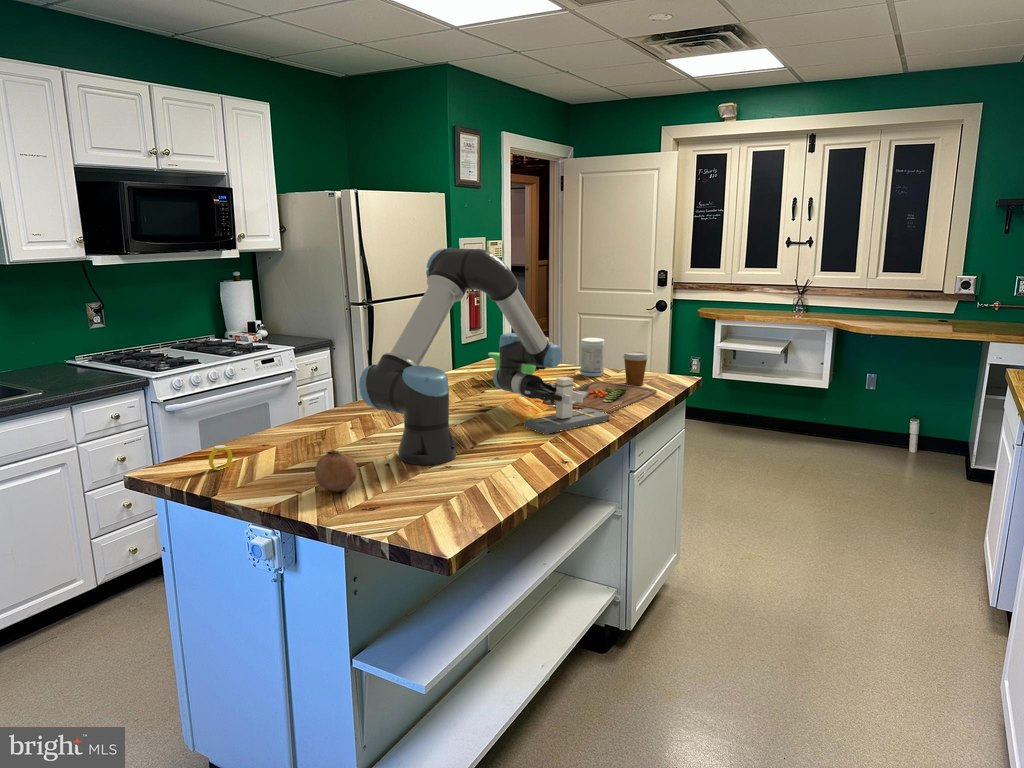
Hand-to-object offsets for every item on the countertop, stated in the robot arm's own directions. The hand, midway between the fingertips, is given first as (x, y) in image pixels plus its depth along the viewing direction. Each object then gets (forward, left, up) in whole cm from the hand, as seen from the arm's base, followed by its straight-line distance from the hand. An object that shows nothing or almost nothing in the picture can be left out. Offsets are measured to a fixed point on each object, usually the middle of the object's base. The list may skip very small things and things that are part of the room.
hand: (576, 399), depth 213 cm
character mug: (+51, +79, -9) cm, 94 cm away
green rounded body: (+26, +65, -9) cm, 70 cm away
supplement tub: (+59, +55, -9) cm, 81 cm away
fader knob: (0, +5, -7) cm, 8 cm away
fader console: (+2, +5, -9) cm, 11 cm away
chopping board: (+34, +25, -10) cm, 43 cm away
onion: (-79, -7, -9) cm, 80 cm away
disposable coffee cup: (+61, +33, -9) cm, 70 cm away
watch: (-96, +25, -9) cm, 100 cm away
